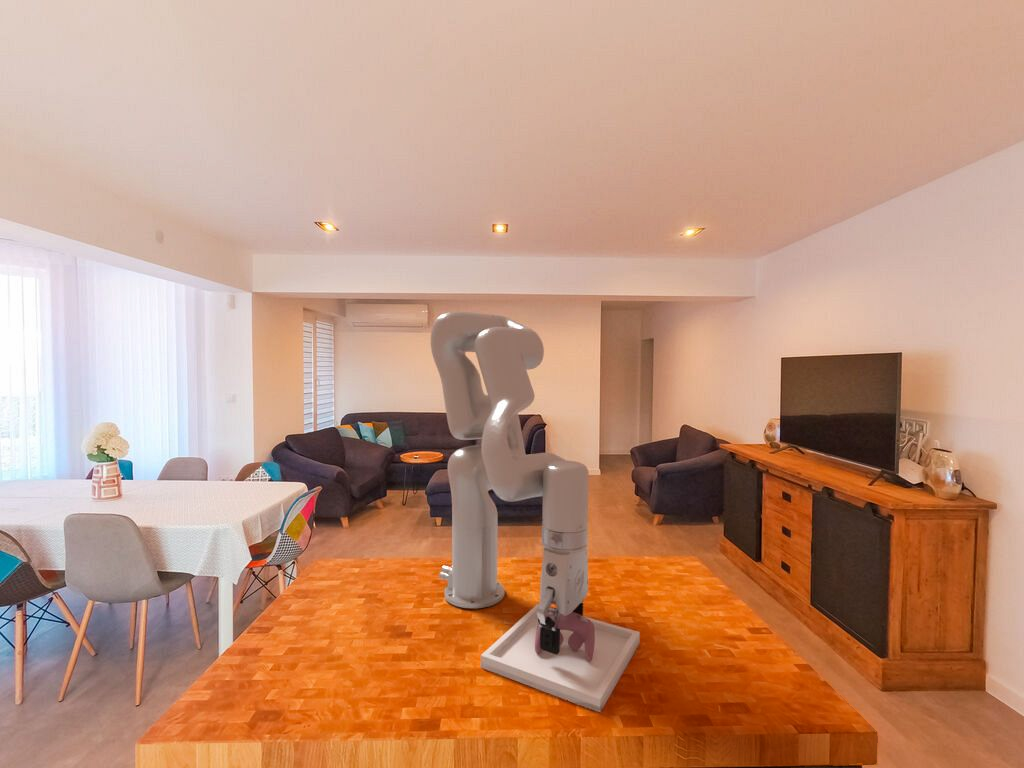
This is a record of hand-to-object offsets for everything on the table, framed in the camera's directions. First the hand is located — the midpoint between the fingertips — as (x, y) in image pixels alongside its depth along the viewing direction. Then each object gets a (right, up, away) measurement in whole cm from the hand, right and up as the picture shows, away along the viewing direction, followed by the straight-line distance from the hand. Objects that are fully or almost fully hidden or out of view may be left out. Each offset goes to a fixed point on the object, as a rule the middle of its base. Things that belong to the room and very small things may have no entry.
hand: (562, 636), depth 81 cm
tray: (0, -3, 0) cm, 3 cm away
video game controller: (0, -2, 0) cm, 2 cm away
